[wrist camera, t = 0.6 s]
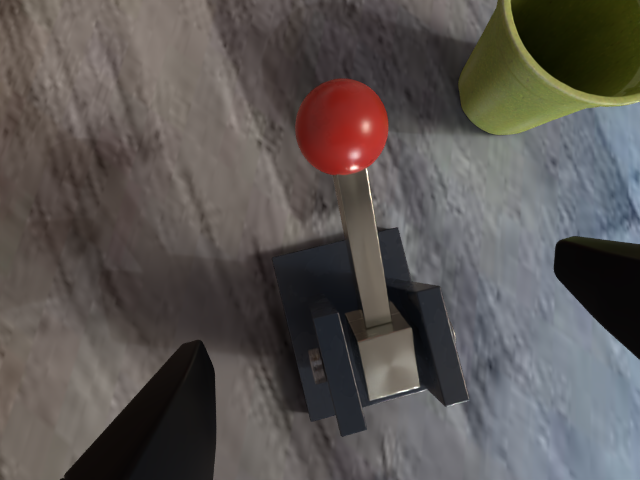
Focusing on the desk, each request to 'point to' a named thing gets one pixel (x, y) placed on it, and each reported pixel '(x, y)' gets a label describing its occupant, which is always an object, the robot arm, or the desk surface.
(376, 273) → the red-knobbed lever handle
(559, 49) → the plant pot
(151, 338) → the desk surface
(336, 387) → the dark grey lever stand
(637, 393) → the desk surface
